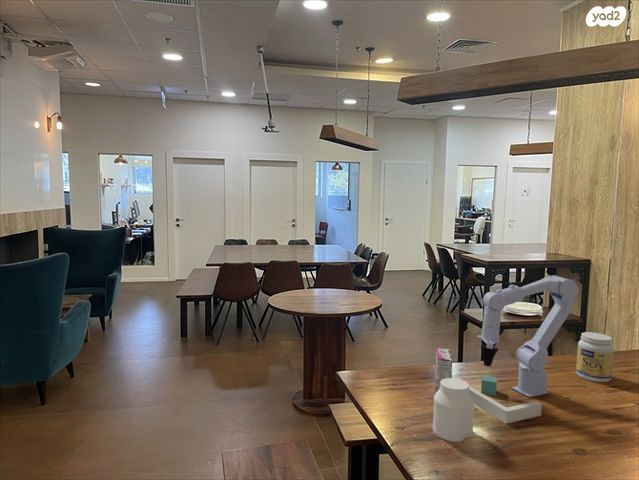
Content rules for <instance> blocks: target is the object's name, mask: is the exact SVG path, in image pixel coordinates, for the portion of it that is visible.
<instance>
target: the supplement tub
mask: <svg viewBox="0 0 639 480" xmlns="http://www.w3.org/2000/svg"><path fill="white" fill-rule="evenodd" d="M612 343H613V338H612V337H611V336H610V335H606V334H604V333H598V332H594V331H593V332H590V331H585V332H581V335H580V340H579V341H578V342H577V352H576V353H577V354H576V363H575V364H576V365H575V366H576V367H575V373H576V374H577V376H579V377H580V378H581V379H585V380H587V381H590V382H595V383H608V382H609V381H611V380H612V377H613V367H614V366H613V365H614V356H615V355H614V353H615V348H614V345H613V344H612Z"/></svg>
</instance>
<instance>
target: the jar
mask: <svg viewBox="0 0 639 480" xmlns="http://www.w3.org/2000/svg"><path fill="white" fill-rule="evenodd" d="M469 386H470V384H469V383H468V382H467V381H465V380H462V379H459V378H454V377H452V378H446V379H442V380H441V381H440V389H439V390H438V391H437V392H436V394H435V393H434V396H433V420H432V431H433V433H434V435H435V436H438V437H439V438H440V439H442V440H445V441H446V442H447V441H448V442H450V443H451V442H452V443H461V442H463V440H464V439H467V438H470V437H472V436H473V435H474V430H473V429H474V428H473V426H474V411H475V404H474V400H473V399H472V397H471V395H470V394H469Z"/></svg>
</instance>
